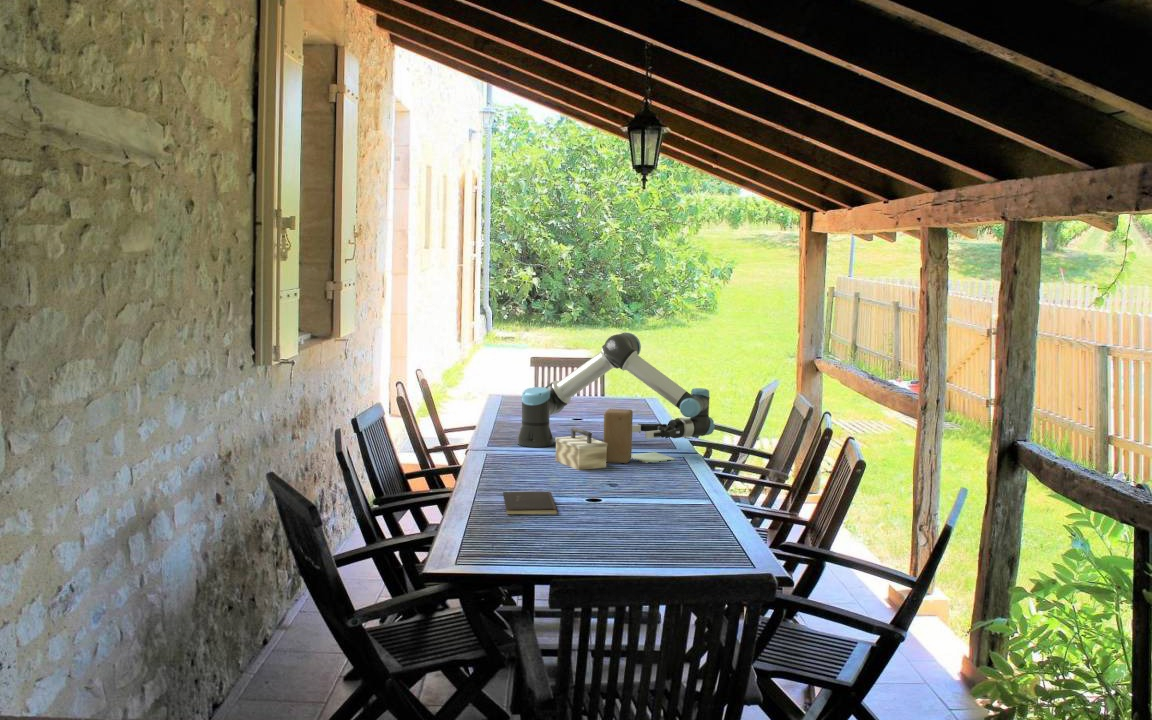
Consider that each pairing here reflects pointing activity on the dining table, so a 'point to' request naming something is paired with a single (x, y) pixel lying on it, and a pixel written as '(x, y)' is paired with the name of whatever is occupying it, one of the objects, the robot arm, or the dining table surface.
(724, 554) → the dining table surface
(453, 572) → the dining table surface
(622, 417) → the wooden block
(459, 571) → the dining table surface
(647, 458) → the mat
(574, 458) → the toolbox
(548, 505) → the hardcover book
